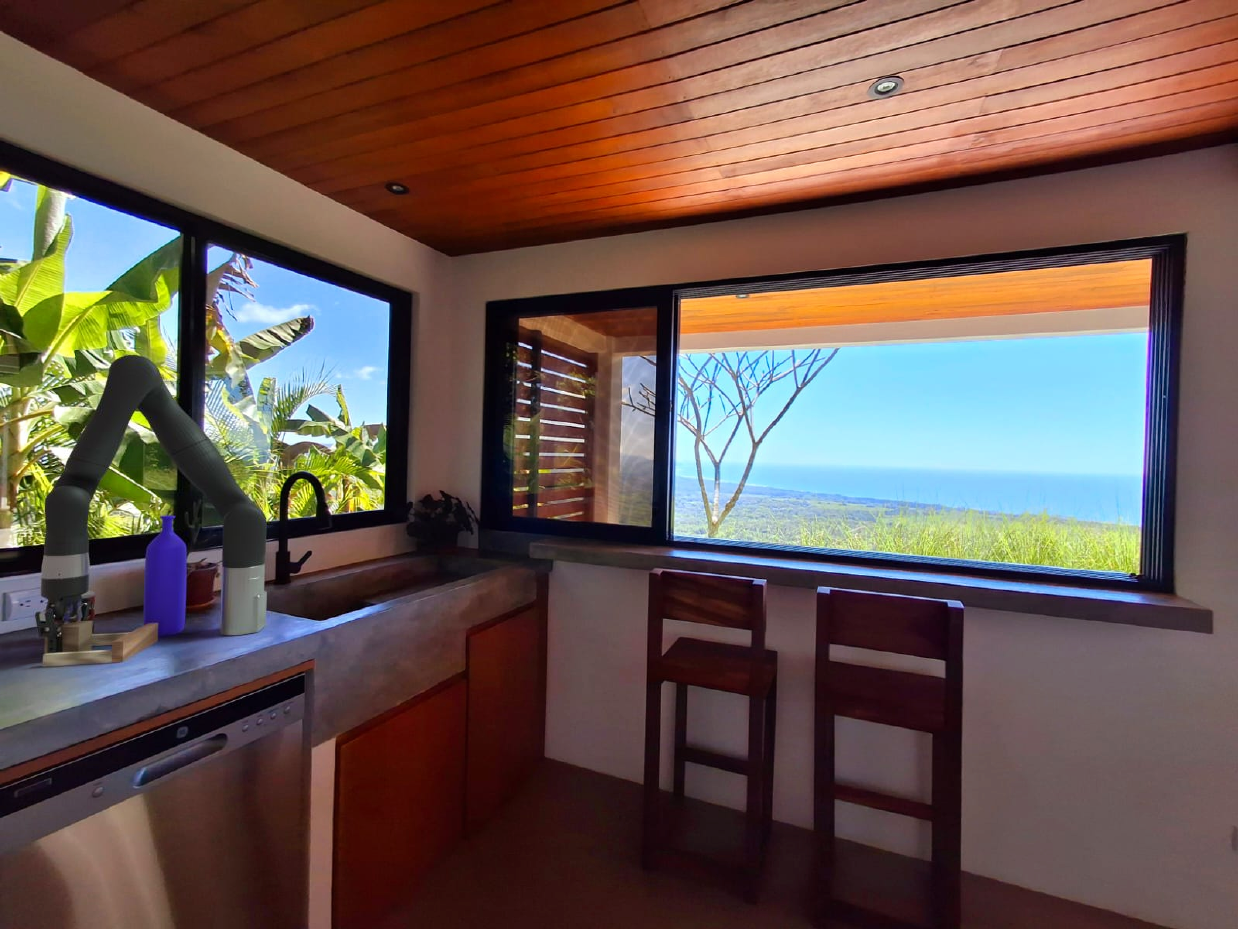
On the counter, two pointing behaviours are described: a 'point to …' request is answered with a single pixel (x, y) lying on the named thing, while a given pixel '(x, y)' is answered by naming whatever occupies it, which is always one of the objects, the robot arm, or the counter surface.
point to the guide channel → (121, 650)
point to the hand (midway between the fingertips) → (63, 649)
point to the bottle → (165, 581)
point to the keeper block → (75, 637)
